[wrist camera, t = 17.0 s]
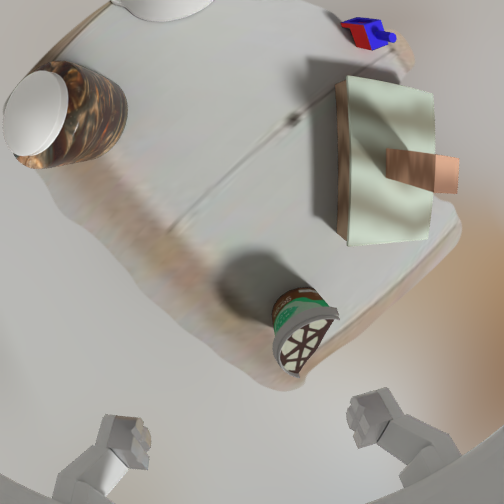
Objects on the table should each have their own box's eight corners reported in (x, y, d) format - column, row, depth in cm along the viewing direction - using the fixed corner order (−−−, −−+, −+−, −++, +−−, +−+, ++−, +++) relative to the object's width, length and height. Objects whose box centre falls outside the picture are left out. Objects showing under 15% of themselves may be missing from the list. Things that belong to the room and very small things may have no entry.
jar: (53, 102, 28) (-12, 94, 14) (119, 66, 28) (68, 33, 14) (70, 172, 33) (5, 192, 19) (138, 140, 33) (89, 140, 19)
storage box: (332, 82, 32) (347, 75, 27) (413, 96, 33) (433, 93, 29) (334, 234, 41) (348, 246, 36) (410, 229, 42) (427, 239, 37)
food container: (284, 269, 42) (302, 304, 33) (318, 281, 43) (342, 316, 34) (252, 331, 46) (260, 374, 36) (284, 339, 47) (297, 380, 38)
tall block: (386, 148, 31) (435, 154, 22) (408, 150, 32) (459, 158, 22) (385, 177, 33) (433, 192, 24) (408, 178, 33) (457, 193, 24)
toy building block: (349, 45, 31) (386, 54, 26) (340, 22, 28) (377, 27, 23) (365, 39, 31) (402, 47, 25) (357, 17, 27) (395, 21, 22)
